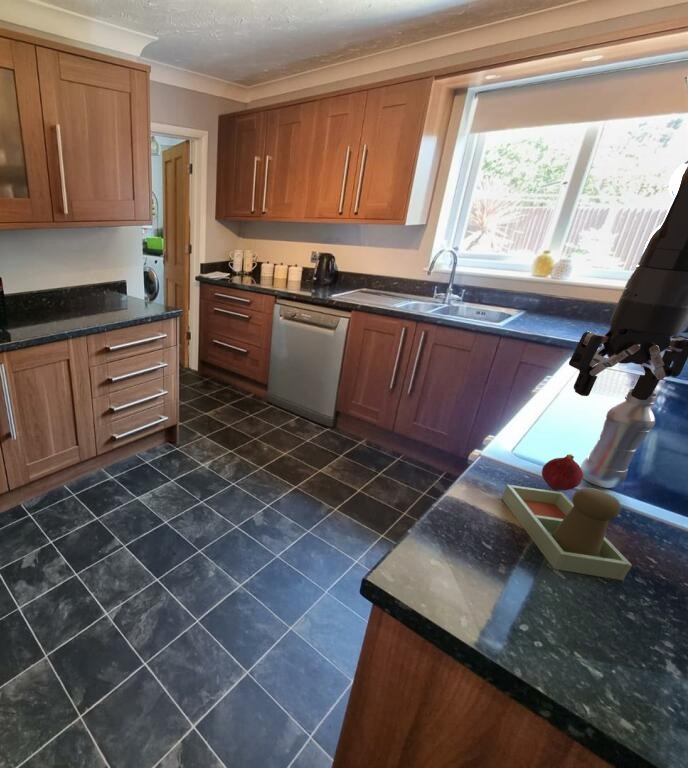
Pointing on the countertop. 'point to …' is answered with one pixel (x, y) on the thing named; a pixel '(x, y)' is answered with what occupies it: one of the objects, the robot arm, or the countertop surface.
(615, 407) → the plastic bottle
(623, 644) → the countertop surface
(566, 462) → the red round fruit
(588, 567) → the sorter
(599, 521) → the cork
